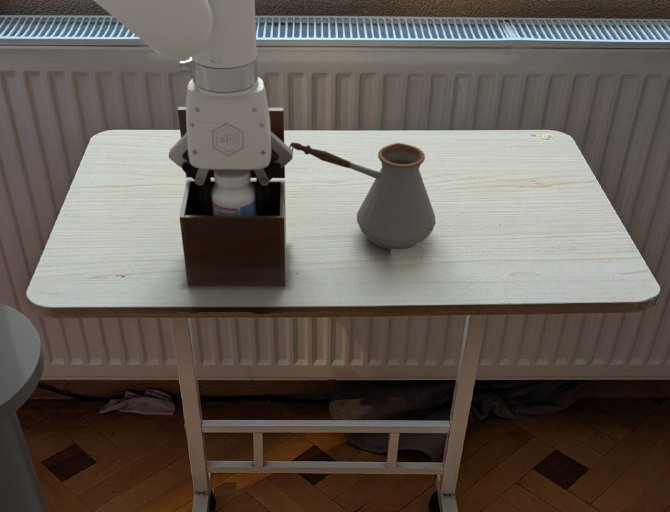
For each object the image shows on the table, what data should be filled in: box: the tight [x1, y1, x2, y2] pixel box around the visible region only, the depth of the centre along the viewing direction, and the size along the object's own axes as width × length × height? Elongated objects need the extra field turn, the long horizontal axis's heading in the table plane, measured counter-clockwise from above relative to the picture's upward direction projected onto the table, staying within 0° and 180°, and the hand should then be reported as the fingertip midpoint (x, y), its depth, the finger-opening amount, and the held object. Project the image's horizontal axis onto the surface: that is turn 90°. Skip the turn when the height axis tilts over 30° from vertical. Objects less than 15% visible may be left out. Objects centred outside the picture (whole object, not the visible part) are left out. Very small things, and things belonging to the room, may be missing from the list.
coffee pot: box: [288, 142, 437, 251], centre depth 117 cm, size 21×12×15 cm, turn 96°
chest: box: [179, 178, 287, 287], centre depth 112 cm, size 10×13×11 cm
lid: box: [177, 106, 286, 179], centre depth 109 cm, size 10×13×5 cm
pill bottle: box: [211, 170, 258, 216], centre depth 110 cm, size 6×6×11 cm
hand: (234, 206), depth 109 cm, fingers closed on pill bottle, 6 cm apart
